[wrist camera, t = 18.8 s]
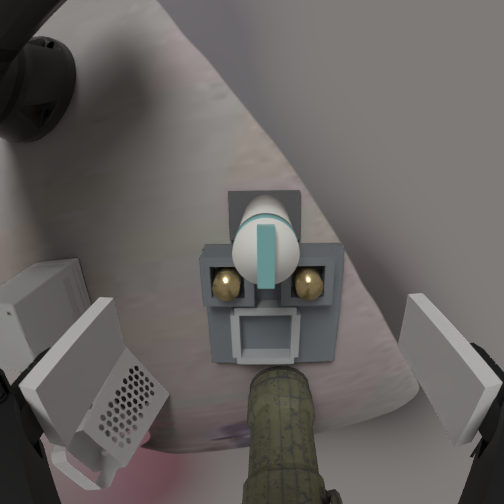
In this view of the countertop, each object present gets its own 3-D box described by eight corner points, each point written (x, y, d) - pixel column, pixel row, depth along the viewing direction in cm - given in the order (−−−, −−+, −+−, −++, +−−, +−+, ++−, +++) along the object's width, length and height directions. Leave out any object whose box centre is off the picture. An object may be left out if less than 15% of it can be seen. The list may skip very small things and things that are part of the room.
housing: (205, 244, 38) (197, 257, 34) (340, 243, 38) (351, 256, 33) (214, 353, 43) (209, 376, 38) (330, 352, 42) (337, 374, 38)
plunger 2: (293, 261, 36) (296, 275, 32) (318, 261, 36) (324, 274, 32) (292, 285, 37) (295, 300, 33) (316, 284, 37) (322, 299, 33)
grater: (125, 345, 44) (65, 444, 24) (169, 394, 46) (134, 498, 27) (85, 367, 46) (27, 453, 26) (126, 411, 48) (86, 500, 29)
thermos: (228, 385, 45) (195, 620, 11) (299, 351, 43) (332, 616, 9) (261, 419, 47) (254, 627, 14) (327, 389, 45) (369, 613, 11)
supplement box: (34, 261, 40) (-32, 303, 26) (79, 256, 40) (12, 303, 25) (51, 316, 43) (-4, 368, 29) (95, 316, 42) (42, 377, 28)
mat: (228, 191, 36) (228, 191, 36) (299, 190, 36) (300, 191, 36) (230, 239, 38) (230, 240, 38) (299, 238, 38) (299, 239, 37)
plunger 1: (216, 262, 36) (211, 275, 33) (241, 262, 36) (238, 275, 32) (218, 285, 37) (213, 300, 33) (242, 285, 37) (240, 301, 33)
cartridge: (243, 194, 36) (228, 224, 22) (287, 193, 36) (302, 223, 21) (244, 237, 37) (231, 291, 23) (287, 236, 37) (300, 291, 23)
